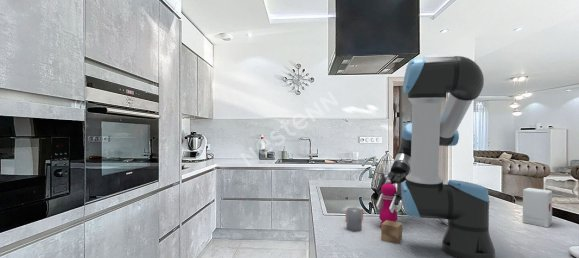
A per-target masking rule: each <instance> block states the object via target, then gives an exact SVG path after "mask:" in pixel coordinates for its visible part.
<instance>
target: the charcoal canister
mask: <svg viewBox="0 0 579 258" xmlns="http://www.w3.org/2000/svg"><path fill="white" fill-rule="evenodd" d="M361 209H362V208H360V209H359V207H347V208H346V210H347V222H346V230H347V231H350V232H355V233H356V232H361V231H362V227H363V225H362V224H363V222H362V221H363V220H362V210H361Z"/></svg>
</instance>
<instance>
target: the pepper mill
mask: <svg viewBox="0 0 579 258" xmlns="http://www.w3.org/2000/svg"><path fill="white" fill-rule="evenodd" d="M386 182H387V183H386ZM386 182H385V184H383V185H382V187H381V191H382V193H383V195H382V196H383V197H382V198H383V200H384V201H383V203H382V206H381V209H380V212H379V215H378V216H379V219H380V227H381V224H382V223H383V222H384V221H386V220H388V221H394V222H398V213H397V211H396V208H395V209H394V212H393V213H391V211H390V209H389V208H390V205H391V203H392V200H393V197H394V196H396V194H397V186H396V185H394V184H391V181H390V180H388V179H387V180H386Z"/></svg>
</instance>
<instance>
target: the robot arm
mask: <svg viewBox="0 0 579 258" xmlns="http://www.w3.org/2000/svg"><path fill="white" fill-rule="evenodd" d="M484 81H485V78H484V73H483V71H482V69H481V67H480V66H479V65H478V63H476V62H475V61H473V59H470V58H469V57H466V56H459V55H453V56H426V57H425V56H423V57H418V58H412V59H410V60H409V62H408V63H407V66H406V68H405V73H404V78H403V84H402V85H403V86H402V91H403V94H406V95H407V100H408V101H409V102H410V103H411V104H412V107H411V108H412V110H411V111H412V113H411V115H412V116H411V122H410V123H409V122H408V123H407V124H405V125H404V127H403V129H402V132H401V140H400V144H399V148H398V151H397V154H396V156H395V157H394V160H393V162H392V165H391V168H390V170H389V171H388V174H387V173H386V174H385V173H382V174H381V177H380V181H379V182H378V185H377V186H376V190H375V191H376V193H377V195H378V196H377V198H376V202H377V203H376V205H375V207H376V209H377V210H378V211H381V209H382V207H383V203H384V200H383V198H382V197H383V196H382V195H383V193H382V191H381V187H382V185H383V184H386V183H387V180H390V181H391V184H393V185H394V184H395V185H396V193H395V196H394V197H393V200H392V203H391V205H390V208H389V209H390V211H391V213H393V212H394V209H395V210H396V206H399V204H400V200H401V201H402V206H403V209H404V212H405V214H406V216H408V217H413V218H419V219H421V218H422V219H436V220H447V227H446V230H445V233H444V235H443V237H442V241H441V249H442V251H444V252H445V253H446V254H448V255H450V256H451V257H455V258H496V249H495V246H494V244H493V243H494V242H493V241H492V238H491V236H490V229H489V228H490V227H489V226H490V222H489V221H490V218H489V217H490V197H489V196H490V195H489V190H488V189H487V187H485V186H484V185H481V184H477V183H472V182H468V181H462V180H457V179H449V180H448V182H447V183H446V184H445V183H444V180H443V178H442V177H441V176H440V175H439V162H440V161H439V159H440V147H452V146H453V147H454V146H457V144H458V143H459V140H460V139H459V138H460V134H459V131H458V129H459V126H460V125H461V123H462V121H463V119H464V117H465V115H466V113H467V112H468V109H469V108H470V106H471V104H472V102H473V101H474V100H476V99H478V98H479V96H480V94H481V93H482V90H483V88H484ZM447 94H448V96H447ZM444 101H446V102H445V104H444V107H443V109H442V111H441V108H442V107H441V105H442V103H443V102H444Z"/></svg>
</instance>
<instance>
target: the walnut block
mask: <svg viewBox="0 0 579 258" xmlns="http://www.w3.org/2000/svg"><path fill="white" fill-rule="evenodd" d="M380 229H381V232H380V233H381V235H380V238H381V239H380V240H381V241H383V242H387V243H393V244H396V245H397V244H400V242H401V241H402V240H403V222H398V221H396V222H394V221H388V220H386V221H384V222H383V223H382V224H381V226H380Z"/></svg>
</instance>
